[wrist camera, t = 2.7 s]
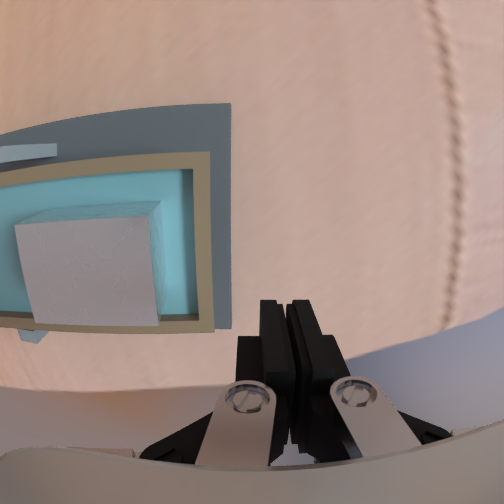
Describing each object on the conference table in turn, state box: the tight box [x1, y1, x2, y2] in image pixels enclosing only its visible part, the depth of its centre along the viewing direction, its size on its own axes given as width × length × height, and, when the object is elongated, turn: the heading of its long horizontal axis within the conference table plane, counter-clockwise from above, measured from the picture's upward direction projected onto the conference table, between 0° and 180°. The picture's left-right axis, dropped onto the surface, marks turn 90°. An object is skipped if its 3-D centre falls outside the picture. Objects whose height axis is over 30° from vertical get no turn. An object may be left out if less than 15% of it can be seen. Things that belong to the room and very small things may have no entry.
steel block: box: [14, 201, 168, 326], centre depth 17 cm, size 8×6×5 cm
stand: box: [0, 103, 232, 344], centre depth 23 cm, size 34×20×9 cm, turn 89°
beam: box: [0, 151, 215, 334], centre depth 19 cm, size 32×12×3 cm, turn 89°
